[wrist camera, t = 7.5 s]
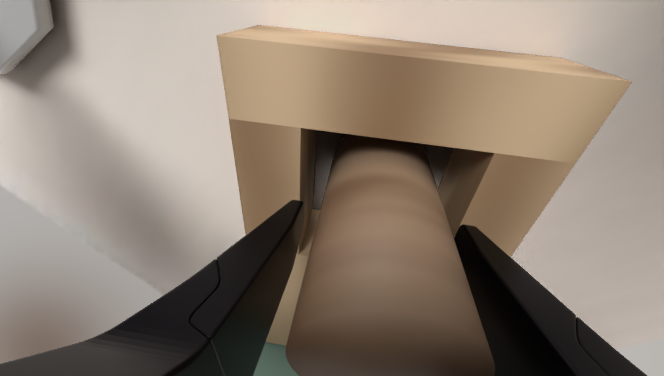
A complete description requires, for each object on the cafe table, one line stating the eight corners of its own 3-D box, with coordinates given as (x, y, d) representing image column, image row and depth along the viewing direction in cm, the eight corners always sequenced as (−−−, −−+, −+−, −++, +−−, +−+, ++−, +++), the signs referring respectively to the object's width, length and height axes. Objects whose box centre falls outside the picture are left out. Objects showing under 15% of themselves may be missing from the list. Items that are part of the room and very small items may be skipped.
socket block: (560, 58, 9) (632, 82, 6) (423, 320, 18) (431, 371, 16) (257, 25, 9) (216, 35, 7) (276, 296, 19) (261, 341, 16)
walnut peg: (413, 208, 13) (452, 420, 6) (329, 196, 13) (286, 389, 7) (439, 128, 11) (539, 336, 4) (337, 116, 11) (282, 294, 4)
